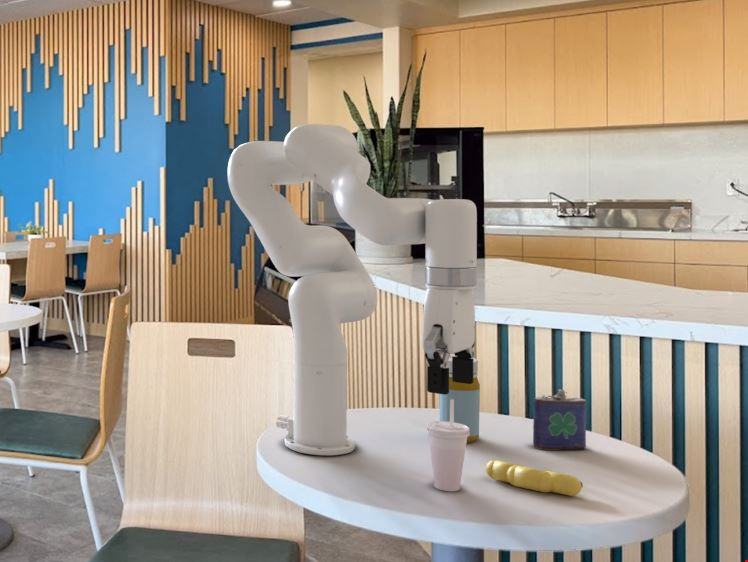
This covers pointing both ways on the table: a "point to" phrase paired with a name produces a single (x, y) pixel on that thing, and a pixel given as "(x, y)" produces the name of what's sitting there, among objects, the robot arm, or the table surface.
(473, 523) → the table surface
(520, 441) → the table surface
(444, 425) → the smoothie
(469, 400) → the bottle
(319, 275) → the robot arm
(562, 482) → the yellow lumpy bar
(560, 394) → the flask
